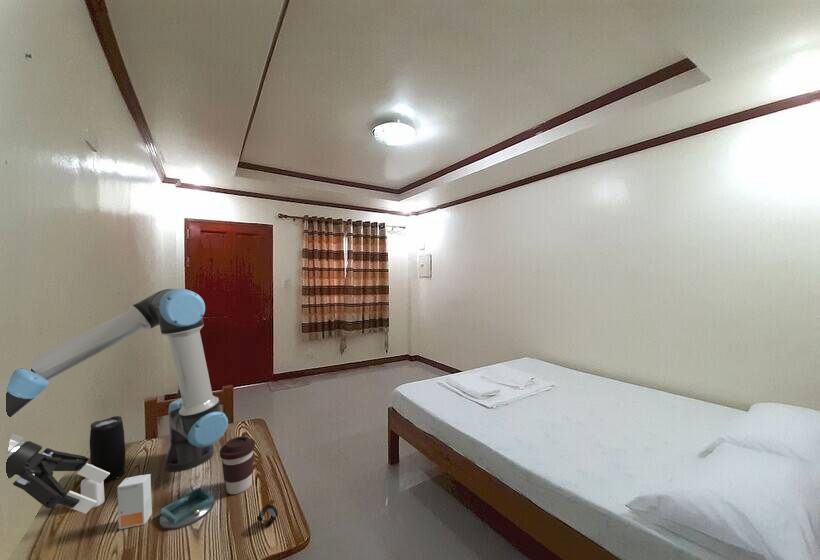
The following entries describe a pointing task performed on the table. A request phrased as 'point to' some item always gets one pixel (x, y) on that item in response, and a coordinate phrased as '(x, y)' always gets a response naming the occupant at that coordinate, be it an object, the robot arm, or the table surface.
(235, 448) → the coffee cup
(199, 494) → the keyed nest
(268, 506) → the smartwatch
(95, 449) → the portable speaker
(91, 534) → the table surface
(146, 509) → the skincare box
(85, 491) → the eye dropper bottle
